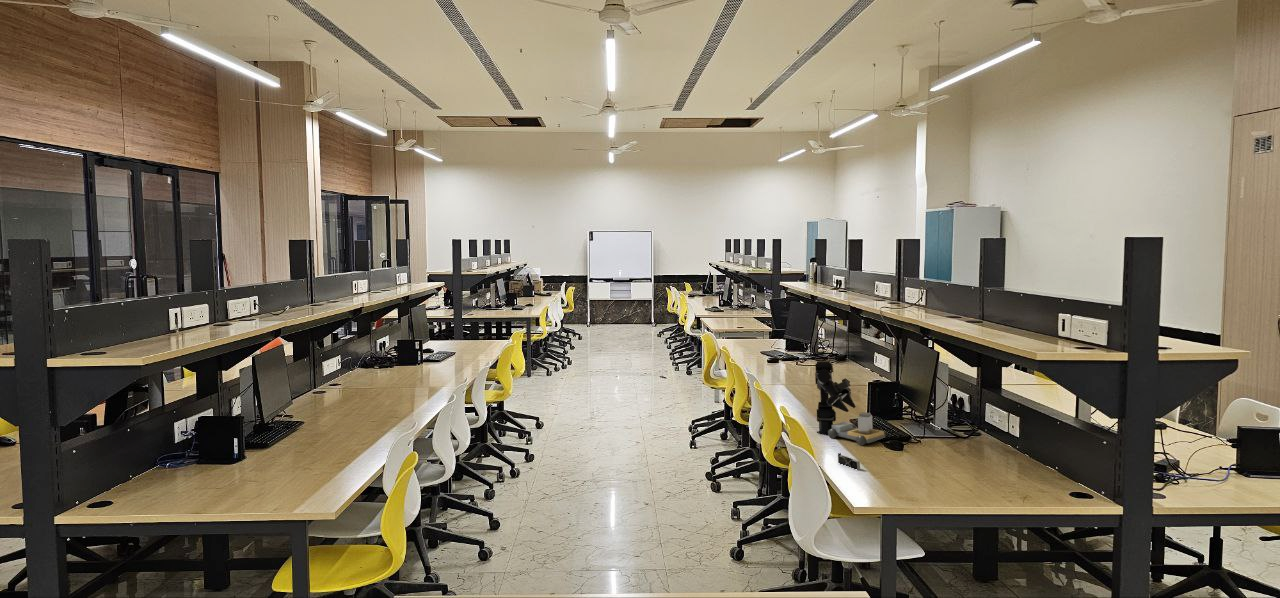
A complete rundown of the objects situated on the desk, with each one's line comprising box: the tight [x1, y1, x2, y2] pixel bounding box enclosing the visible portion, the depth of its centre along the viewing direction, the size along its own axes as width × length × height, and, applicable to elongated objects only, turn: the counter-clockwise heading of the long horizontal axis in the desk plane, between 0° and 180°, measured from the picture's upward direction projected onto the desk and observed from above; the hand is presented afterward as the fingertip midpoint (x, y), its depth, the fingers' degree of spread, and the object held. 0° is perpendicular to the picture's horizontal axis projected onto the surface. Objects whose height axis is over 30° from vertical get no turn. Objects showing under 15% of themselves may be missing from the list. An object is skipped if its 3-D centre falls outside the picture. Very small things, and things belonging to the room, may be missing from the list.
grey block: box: [857, 412, 874, 435], centre depth 327 cm, size 5×5×10 cm
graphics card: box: [837, 452, 861, 471], centre depth 292 cm, size 12×3×5 cm, turn 26°
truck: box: [827, 421, 887, 447], centre depth 332 cm, size 23×15×6 cm, turn 33°
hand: (851, 409), depth 333 cm, fingers open, 9 cm apart
